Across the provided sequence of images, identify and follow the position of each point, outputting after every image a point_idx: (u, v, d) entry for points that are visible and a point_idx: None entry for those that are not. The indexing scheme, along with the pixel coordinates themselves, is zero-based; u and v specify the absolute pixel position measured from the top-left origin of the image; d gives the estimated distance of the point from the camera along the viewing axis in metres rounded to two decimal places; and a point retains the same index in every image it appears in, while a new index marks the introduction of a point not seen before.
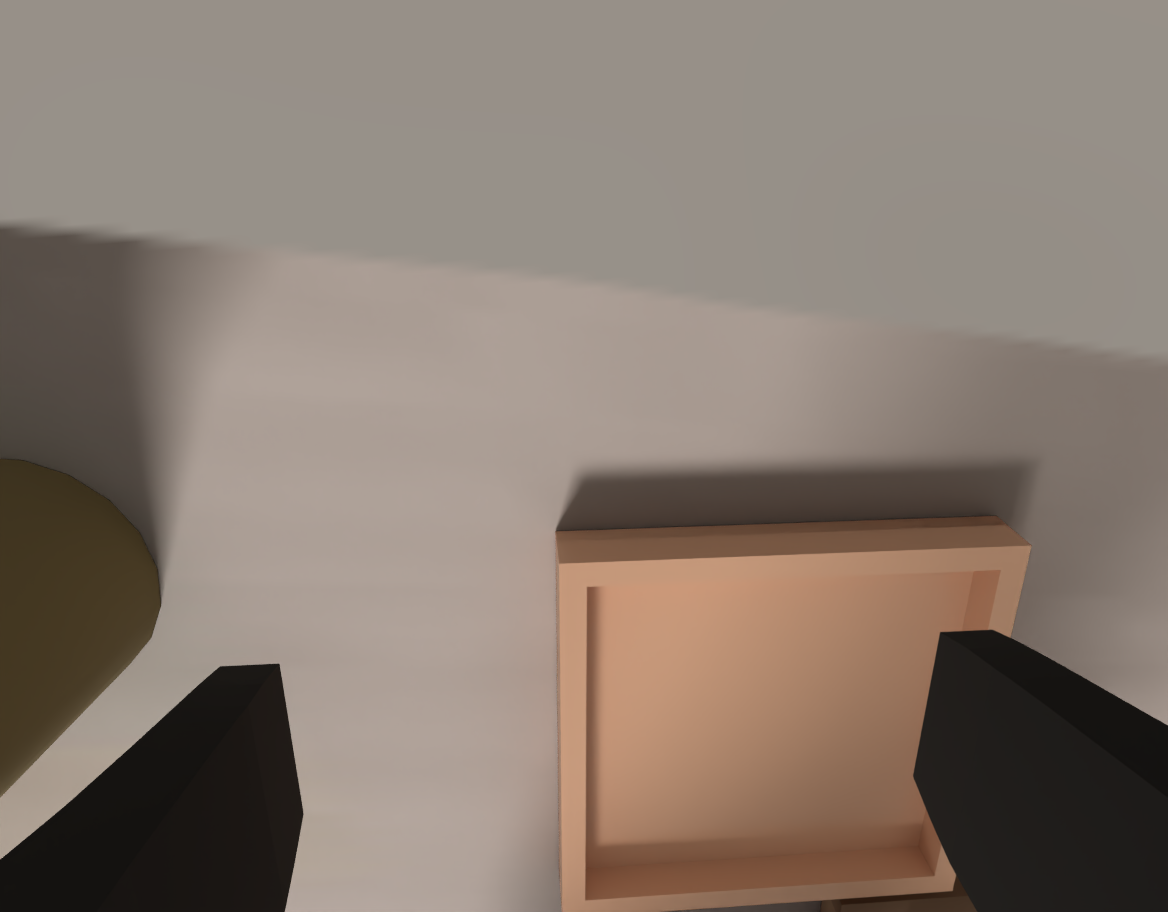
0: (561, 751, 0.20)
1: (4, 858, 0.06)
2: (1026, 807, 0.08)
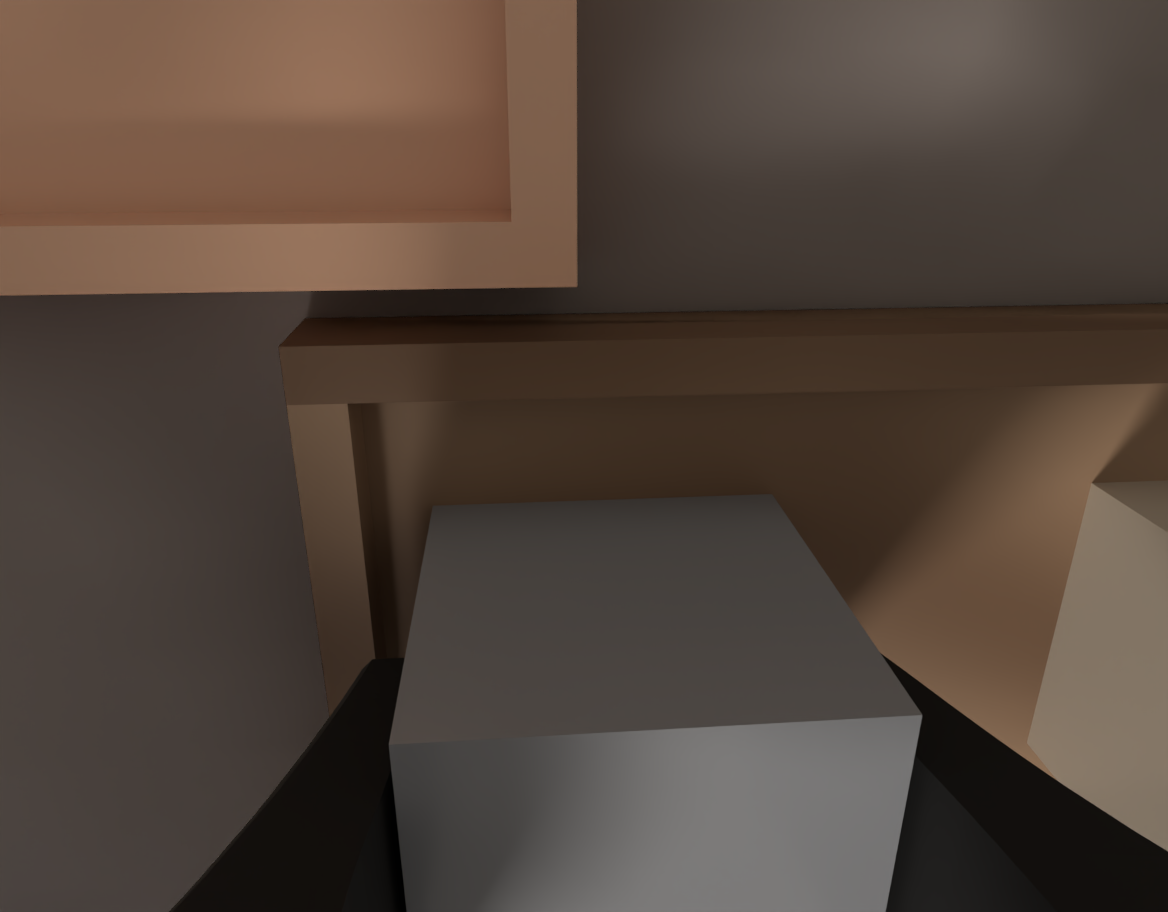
0: None
1: (235, 843, 0.06)
2: None
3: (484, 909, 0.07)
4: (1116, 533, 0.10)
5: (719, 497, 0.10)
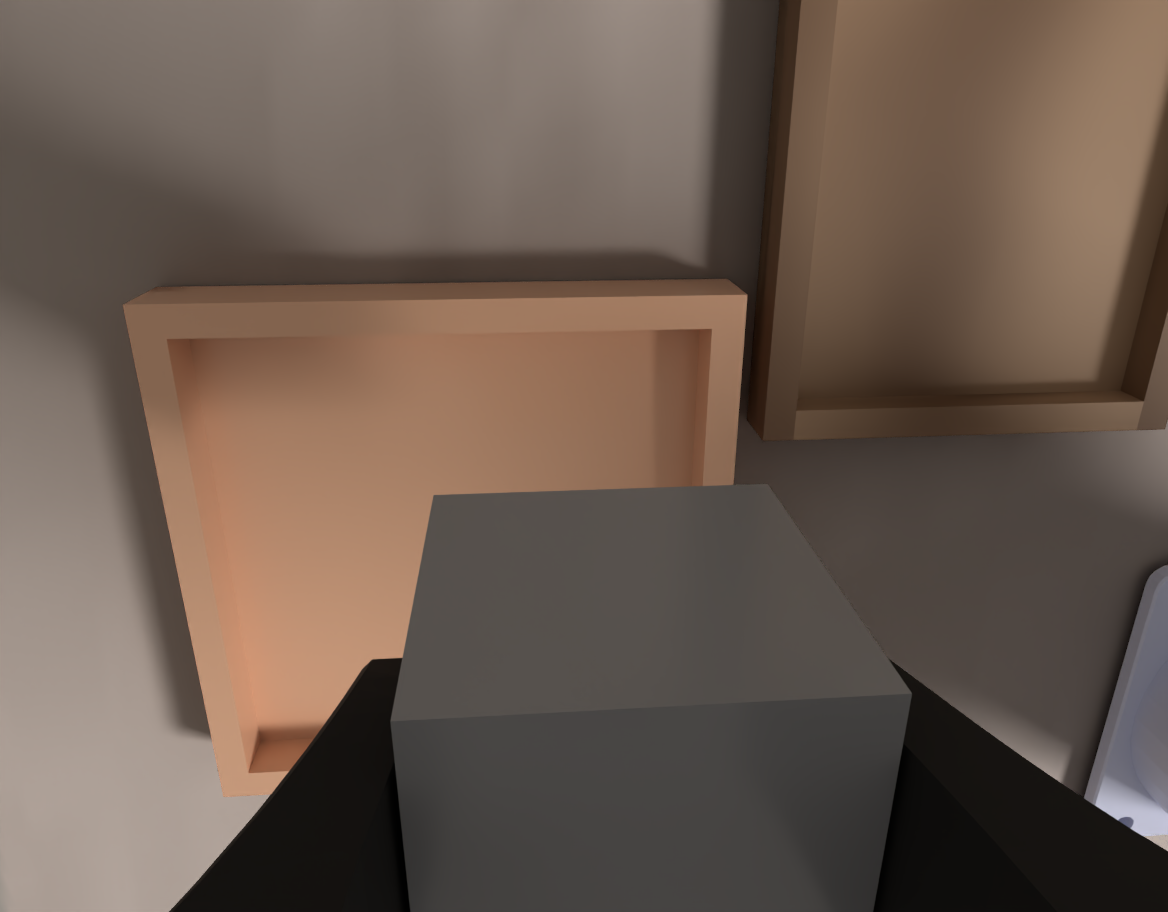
0: None
1: (235, 844, 0.06)
2: None
3: (484, 884, 0.07)
4: None
5: (715, 487, 0.10)
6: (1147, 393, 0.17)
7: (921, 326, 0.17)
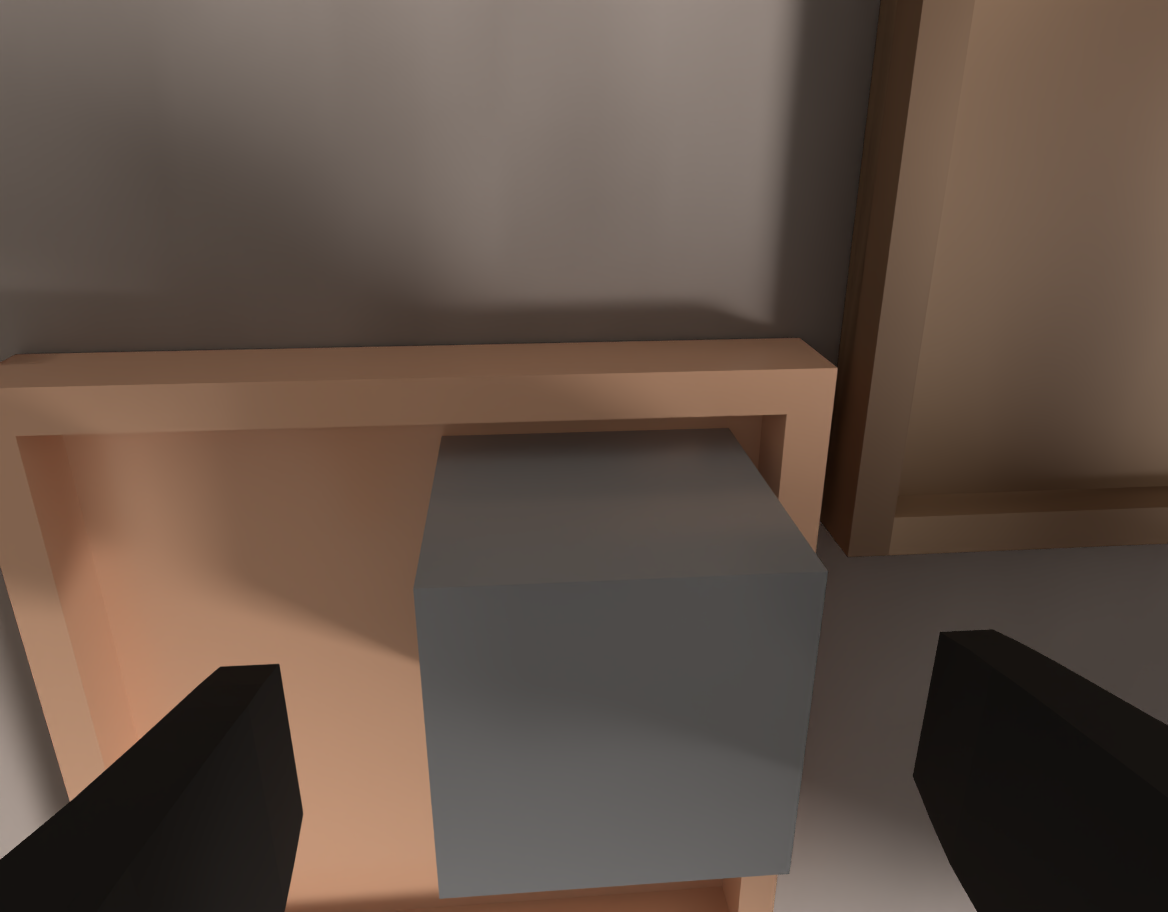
0: None
1: (4, 858, 0.06)
2: (1027, 807, 0.08)
3: (486, 731, 0.09)
4: None
5: (684, 430, 0.12)
6: None
7: (1059, 401, 0.12)
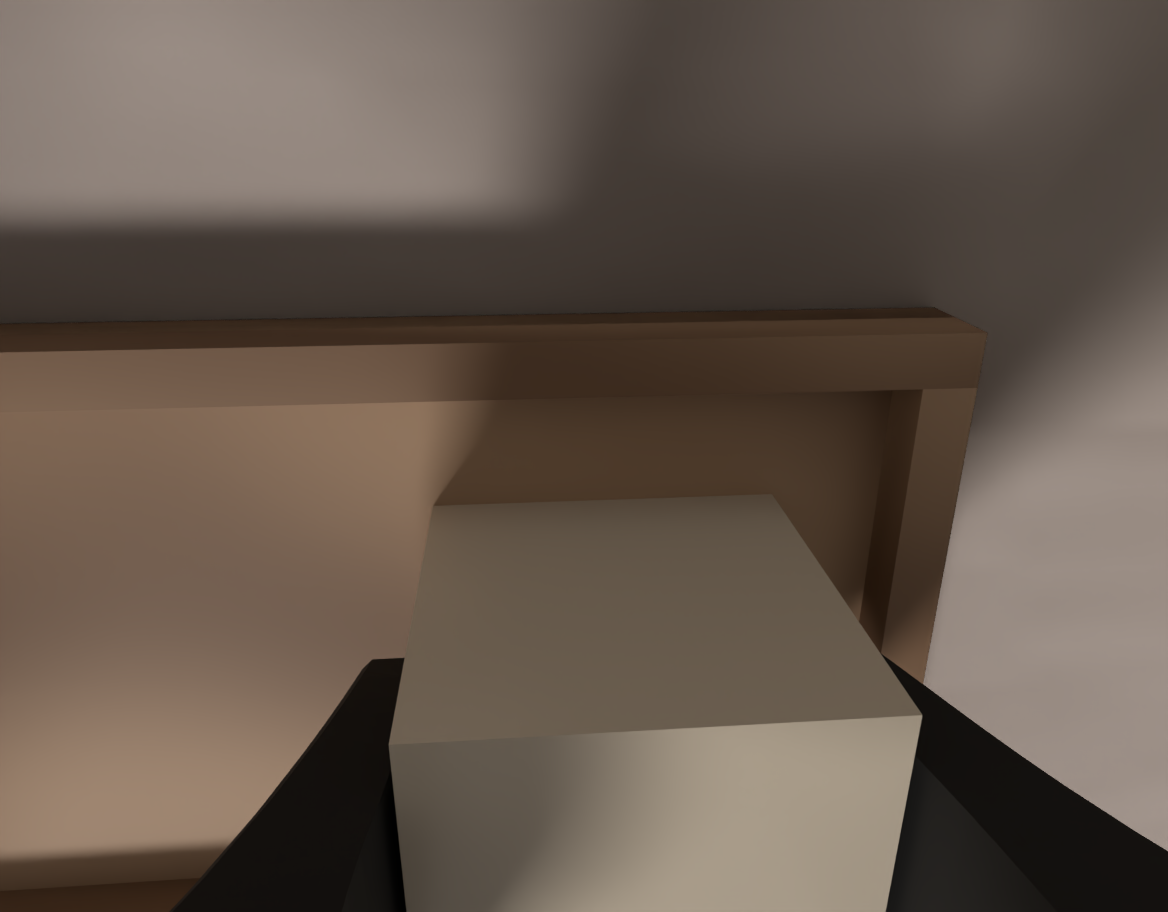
0: None
1: (235, 843, 0.06)
2: None
3: None
4: None
5: None
6: None
7: None
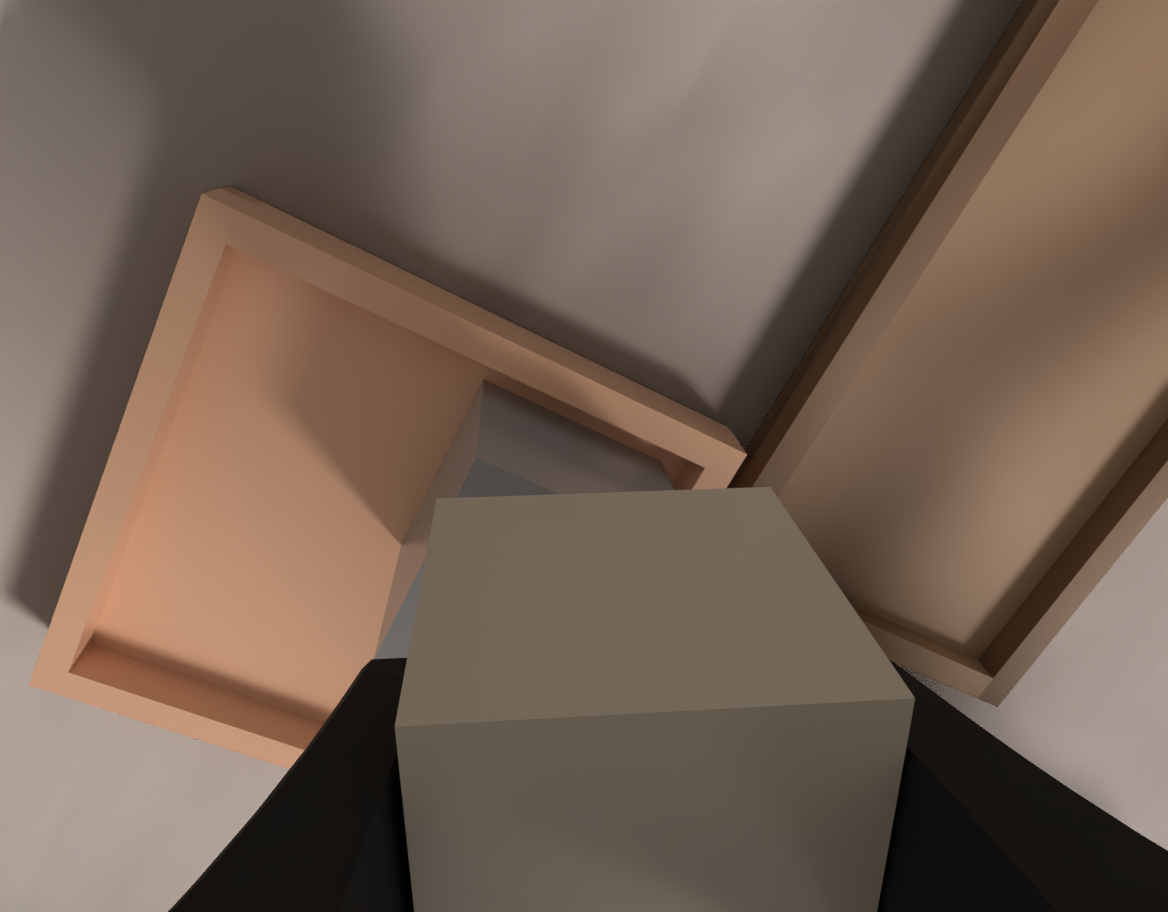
0: (278, 762, 0.18)
1: (235, 843, 0.06)
2: None
3: None
4: None
5: (634, 449, 0.17)
6: (998, 673, 0.19)
7: (859, 540, 0.19)
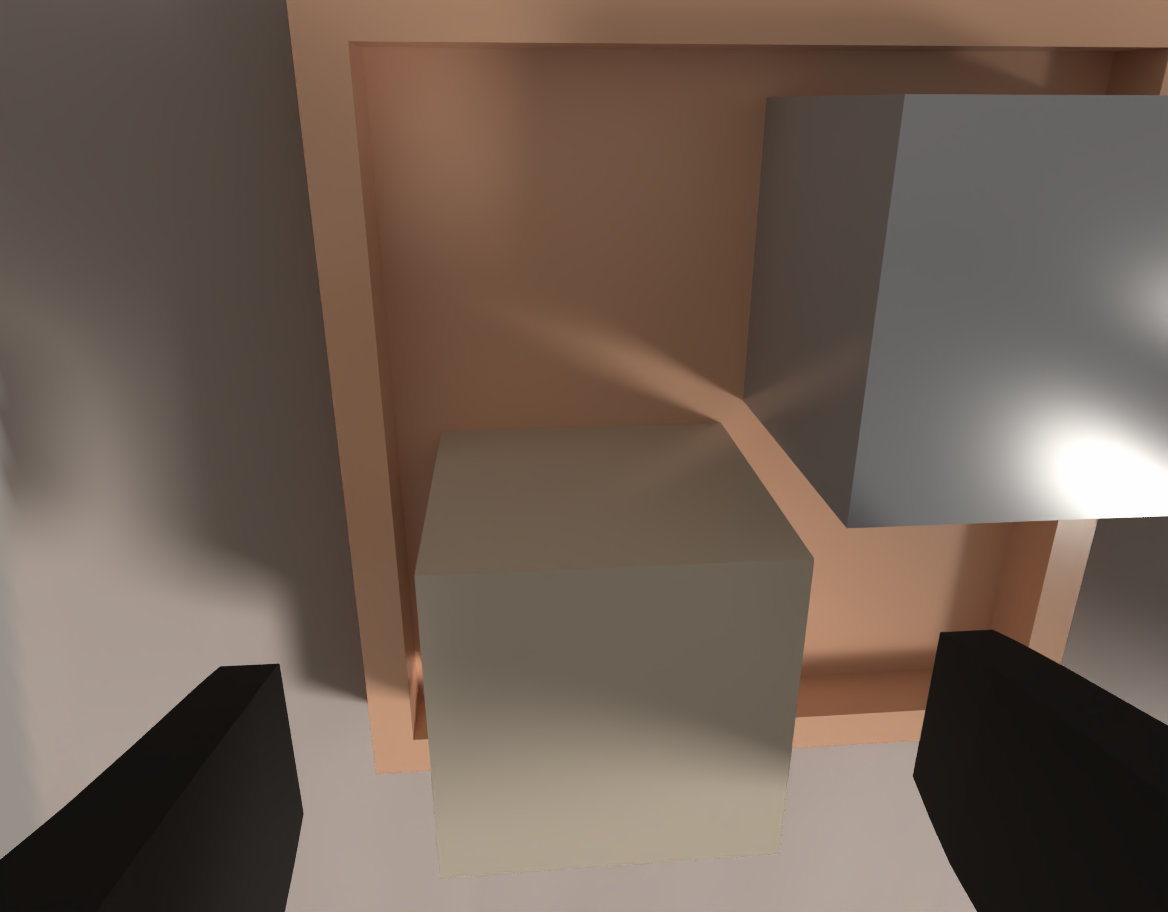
0: None
1: (4, 858, 0.06)
2: (1026, 807, 0.08)
3: (943, 300, 0.08)
4: None
5: None
6: None
7: None
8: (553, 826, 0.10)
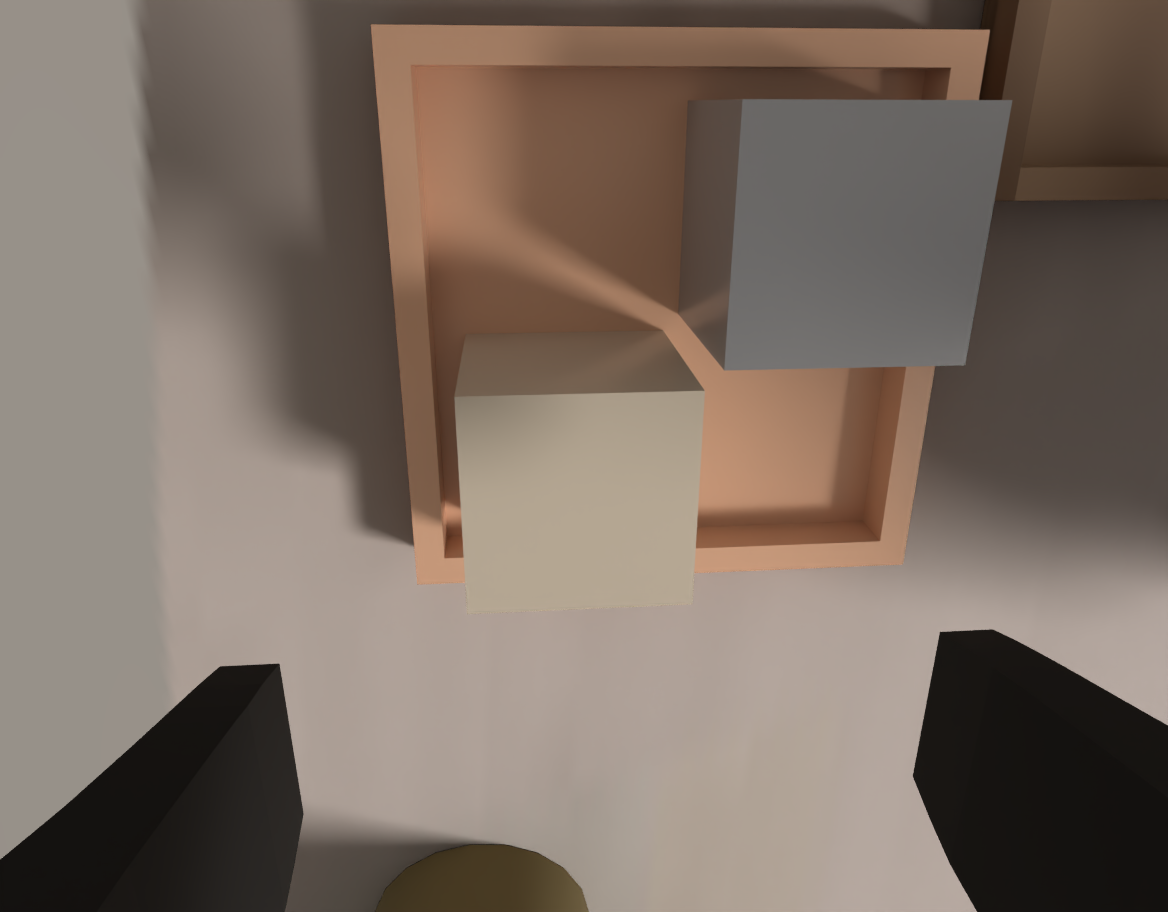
0: None
1: (4, 858, 0.06)
2: (1026, 807, 0.08)
3: (775, 222, 0.13)
4: None
5: None
6: None
7: (1143, 86, 0.16)
8: (541, 578, 0.15)
